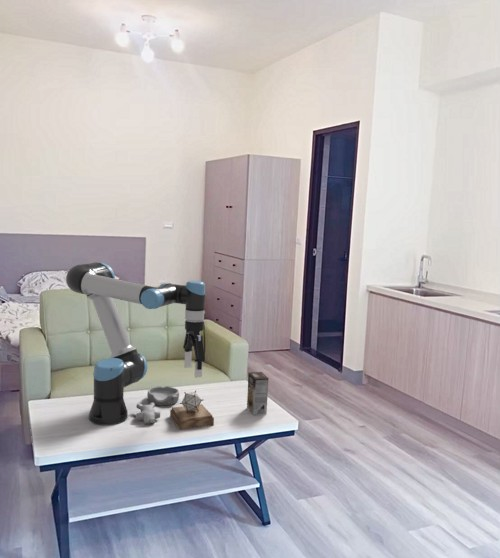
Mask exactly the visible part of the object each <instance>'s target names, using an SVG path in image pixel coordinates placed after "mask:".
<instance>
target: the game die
mask: <svg viewBox="0 0 500 558" xmlns="http://www.w3.org/2000/svg"><path fill="white" fill-rule="evenodd" d="M202 401H204V399H201V397H200V396H199V395H198V394H197V390H195V391H193V392H186V391H185V392H184V396H183V399H182V401H181V402H180V403H179V404H180V405H182V406H184V407H185V409H186V410H187V413H188V411H193V410H197V411H199V410H198V408H199V405H200V404H201V402H202Z"/></svg>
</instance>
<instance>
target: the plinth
mask: <svg viewBox="0 0 500 558" xmlns="http://www.w3.org/2000/svg"><path fill="white" fill-rule="evenodd" d="M198 410H199V411H197V410H193V411H188V413H187V410H186V409H185V407H184V406H183V405H182V406H176V407H175V406H174V407H171V409H170V410H169V412H170V414H169V416H170V419H171V420H172V421H173V422H174V424H175V425H176V427H177V428H178V429H179V430H188V429H196V428H205V427H211V426H214V425H215V418H214V416H213V414H212V413H211V412H210V411H209V410H208V409H207V408H206V407H205V406H204V405H203V404H201V403H200V405H199V408H198Z"/></svg>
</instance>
